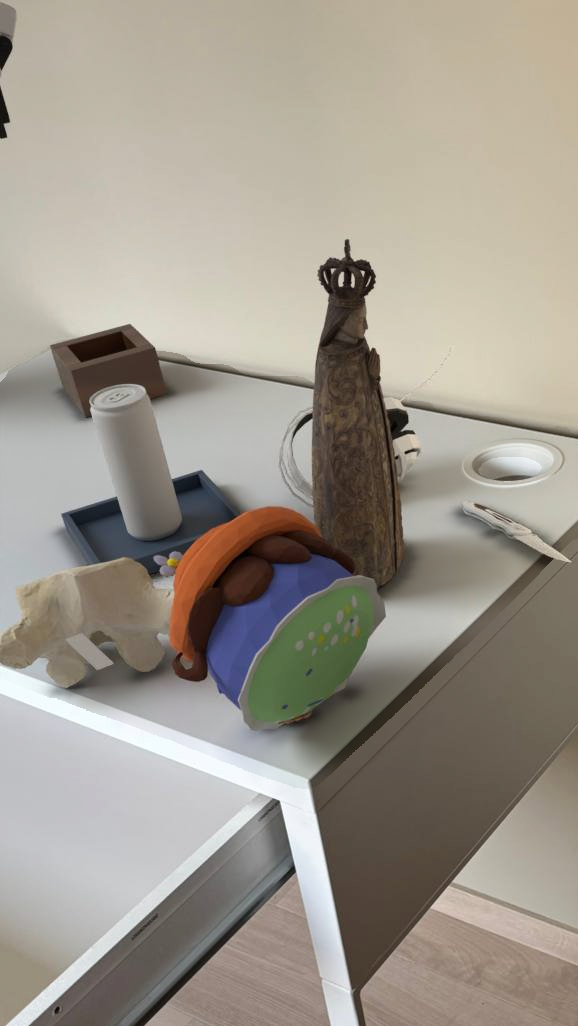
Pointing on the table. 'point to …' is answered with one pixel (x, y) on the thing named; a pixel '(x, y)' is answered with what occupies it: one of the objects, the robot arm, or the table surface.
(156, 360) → the can holder
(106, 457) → the beverage can
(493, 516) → the pocket knife
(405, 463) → the headphones
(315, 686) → the toy
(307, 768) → the table surface
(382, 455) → the statue
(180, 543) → the tray
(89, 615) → the decorative object
